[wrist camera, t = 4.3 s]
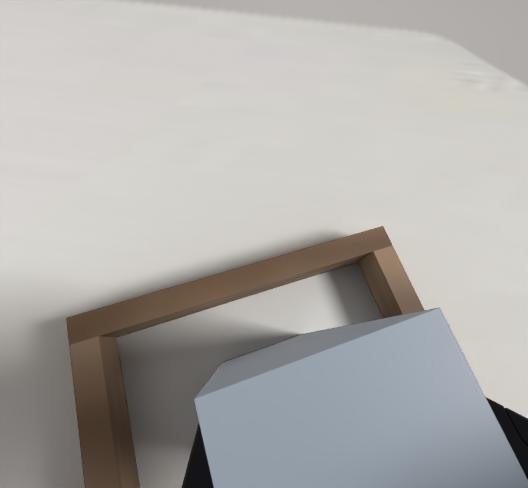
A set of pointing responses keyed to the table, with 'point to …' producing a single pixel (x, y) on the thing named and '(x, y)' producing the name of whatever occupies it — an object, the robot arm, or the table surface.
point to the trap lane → (188, 302)
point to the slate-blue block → (355, 412)
